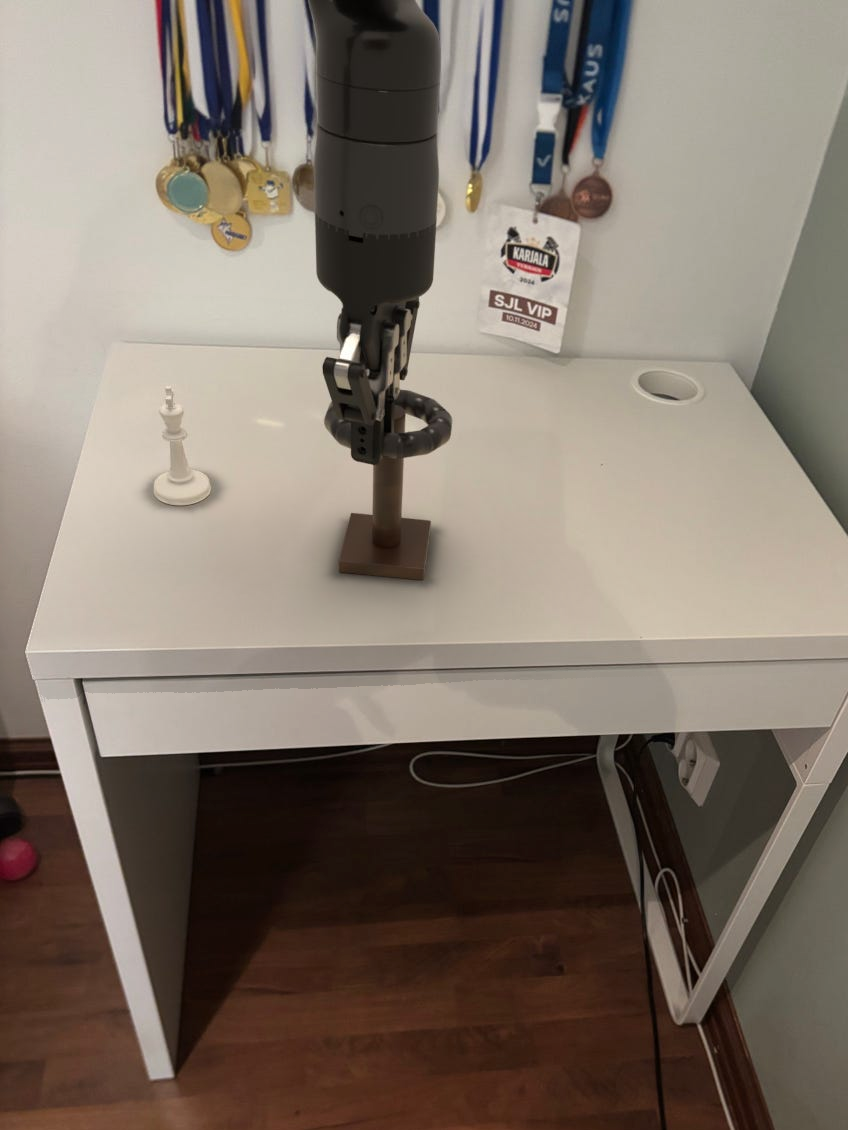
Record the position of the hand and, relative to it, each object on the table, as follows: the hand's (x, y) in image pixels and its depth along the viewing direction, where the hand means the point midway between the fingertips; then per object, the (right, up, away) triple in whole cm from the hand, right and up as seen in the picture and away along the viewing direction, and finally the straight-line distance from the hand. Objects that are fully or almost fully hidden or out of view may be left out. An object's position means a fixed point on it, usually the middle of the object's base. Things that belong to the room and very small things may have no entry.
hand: (372, 451), depth 70 cm
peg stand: (0, -6, +11) cm, 13 cm away
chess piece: (-19, -1, +15) cm, 24 cm away
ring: (+1, +3, +3) cm, 4 cm away
